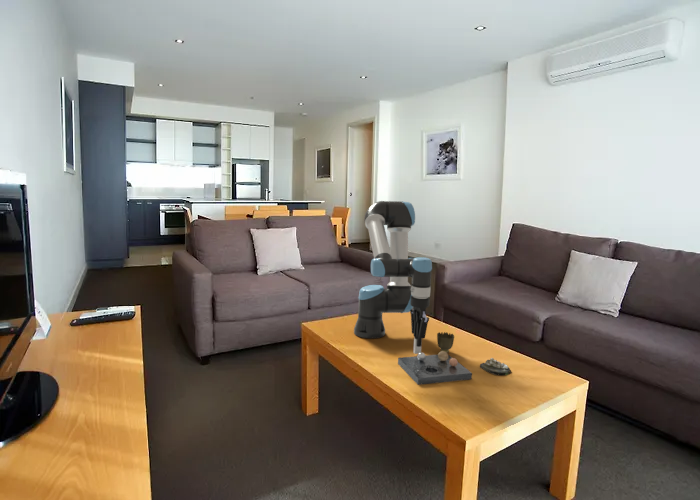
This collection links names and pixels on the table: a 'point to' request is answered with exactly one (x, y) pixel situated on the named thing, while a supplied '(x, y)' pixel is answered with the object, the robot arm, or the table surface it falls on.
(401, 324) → the table surface
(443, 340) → the cup
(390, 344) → the table surface
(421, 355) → the steel ball
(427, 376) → the race plate
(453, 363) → the terracotta ball
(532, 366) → the table surface
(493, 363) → the grey rocky sculpture
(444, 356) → the beech ball
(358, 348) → the table surface
